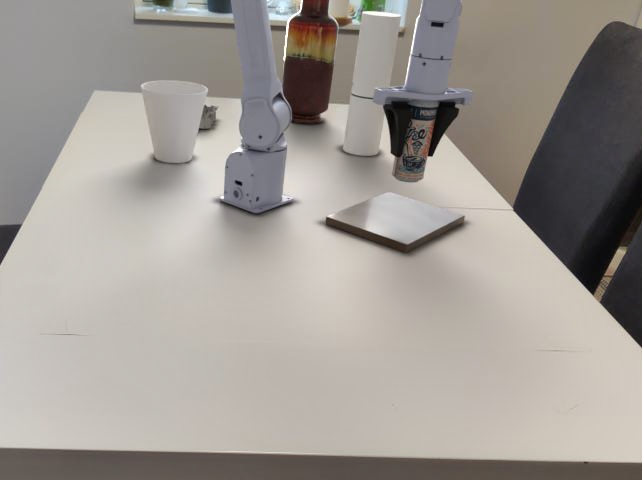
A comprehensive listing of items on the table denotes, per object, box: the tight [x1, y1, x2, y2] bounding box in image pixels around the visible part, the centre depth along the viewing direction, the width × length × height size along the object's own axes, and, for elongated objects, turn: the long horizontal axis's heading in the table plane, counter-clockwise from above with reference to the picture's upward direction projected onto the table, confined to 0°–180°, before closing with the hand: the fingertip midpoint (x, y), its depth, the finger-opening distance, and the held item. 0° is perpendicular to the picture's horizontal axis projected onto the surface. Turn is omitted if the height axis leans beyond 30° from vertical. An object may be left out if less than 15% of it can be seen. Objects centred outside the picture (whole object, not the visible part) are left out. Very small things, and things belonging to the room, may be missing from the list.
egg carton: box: [199, 104, 219, 130], centre depth 152 cm, size 11×8×4 cm
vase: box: [281, 0, 339, 125], centre depth 155 cm, size 11×11×26 cm
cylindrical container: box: [342, 10, 402, 157], centre depth 136 cm, size 7×7×25 cm
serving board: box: [324, 191, 466, 253], centre depth 109 cm, size 18×14×1 cm
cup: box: [139, 79, 209, 164], centre depth 127 cm, size 12×12×12 cm
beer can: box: [391, 99, 439, 183], centre depth 103 cm, size 5×5×12 cm
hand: (411, 155), depth 104 cm, fingers closed on beer can, 5 cm apart
